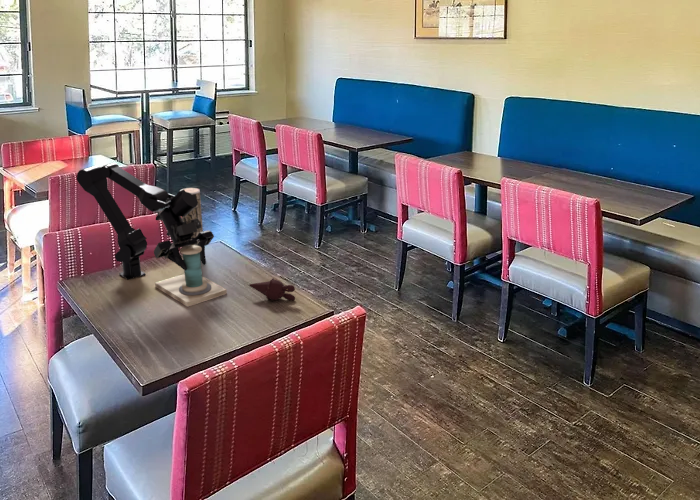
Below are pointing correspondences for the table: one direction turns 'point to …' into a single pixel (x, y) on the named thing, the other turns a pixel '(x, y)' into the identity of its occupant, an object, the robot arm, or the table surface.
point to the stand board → (188, 299)
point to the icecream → (274, 289)
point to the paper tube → (194, 210)
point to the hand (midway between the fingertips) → (195, 267)
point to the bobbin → (193, 269)
